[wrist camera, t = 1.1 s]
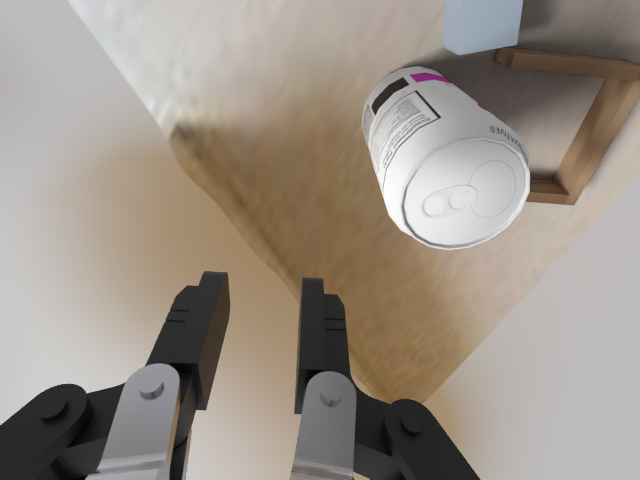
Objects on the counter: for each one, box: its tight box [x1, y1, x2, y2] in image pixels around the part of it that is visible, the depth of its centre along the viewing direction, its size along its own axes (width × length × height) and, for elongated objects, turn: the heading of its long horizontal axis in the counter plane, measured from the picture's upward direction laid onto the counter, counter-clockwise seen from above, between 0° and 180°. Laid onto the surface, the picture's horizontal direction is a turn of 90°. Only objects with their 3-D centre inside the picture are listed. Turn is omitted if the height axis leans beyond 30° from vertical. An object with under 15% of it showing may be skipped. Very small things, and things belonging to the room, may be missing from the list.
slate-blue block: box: [443, 0, 523, 55], centre depth 26 cm, size 4×4×4 cm
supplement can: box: [362, 66, 530, 250], centre depth 26 cm, size 8×8×15 cm
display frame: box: [494, 47, 640, 205], centre depth 31 cm, size 12×11×3 cm
